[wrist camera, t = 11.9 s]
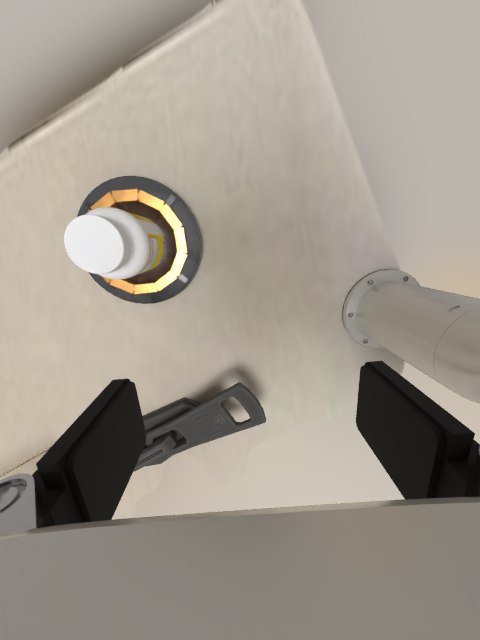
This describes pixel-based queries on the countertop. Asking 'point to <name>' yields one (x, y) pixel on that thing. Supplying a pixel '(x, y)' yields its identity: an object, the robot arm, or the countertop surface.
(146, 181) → the rosette plate
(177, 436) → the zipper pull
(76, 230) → the supplement bottle
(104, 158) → the countertop surface
